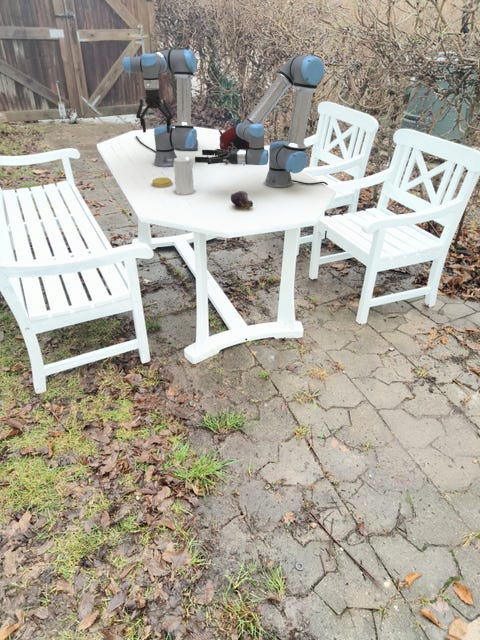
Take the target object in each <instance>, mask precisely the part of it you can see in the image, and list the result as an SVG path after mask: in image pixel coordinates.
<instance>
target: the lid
mask: <svg viewBox="0 0 480 640" xmlns="http://www.w3.org/2000/svg"><path fill="white" fill-rule="evenodd" d="M151 183H152V186H153V187H155V188H167V187H170V186H172V179H171V178H169V177H156V178H153V179H152V182H151Z"/></svg>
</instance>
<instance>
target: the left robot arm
mask: <svg viewBox="0 0 480 640" xmlns="http://www.w3.org/2000/svg"><path fill="white" fill-rule="evenodd" d="M122 68H123V70H124V72H125V73H127V74H142V77H143V87H144V96H145V99H144V98H141V99H140V100H139V106H138V109H137V113H136V115H135V117H136V118H137V119H139V123H140V126H142V133H146V132H147V127H146V120H145V118H144V117H145V116H146V114H147V113H148V111H150V109H152V110H153V109H155V110H159V111H160V112H161V114H162V115H163V116H164V117H165V118H166V119H165V120H166V121H165V123H166V124H163V125H159V126H156V127H155V128H154V129H153V136H154V145H155V149H152V148H151V147H149V146H148V145H146V144H144V143H143V142H142V141H141V140H140V139H139V137H138V136H137V135H135V138H136V139H137V141H138V142H139V143H140V144H141V145H142V146H144V147H146V148H147V149H149V150H151V151H152V152H154V153H155V155H154V165H155V166H157V167H163V168H164V167H165V168H167V167H168V168H169V167H174V165H173V163H174V159H175V158H177V153H176V151H175V149H176V148H185V149H187V148H193V147H194V146H195V143H196V139H197V140H198V133H197V129H196V128H195V126H194V124H193V123H192V79H193V77H194V74H195V73H197V69H198V62H197V58H196V55H195V52H194V51H193V50H191V49H164V50H159V51H155V52H153V53H143V54H141V55H138V56H137V55H135V56H124V57H123V59H122ZM164 72H167V73H173V76H174V78H175V79H176V123H174V127H173V125H172V120H173V119H174V118H175V115H174V113H173V111H172V110H171V108H170V106H169V103H168V100H167V99H166V98H164V99H162V98H161V92H160V80H159V74H163V73H164ZM145 104H146V107H145V108H144V109H143V107H144V105H145ZM142 110H143V111H142Z"/></svg>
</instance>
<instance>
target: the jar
mask: <svg viewBox="0 0 480 640" xmlns="http://www.w3.org/2000/svg"><path fill="white" fill-rule="evenodd" d="M176 157H177V156H176ZM173 165H174V166H173V174H174V176H173V177H174V185H175V193H176V194H177V195H182V196H183V195H185V196H187V195H191V194H193V193H194V192H195V188H194V187H195V185H194V173H193V162H192V159H191V157H189V156H178V157H177V158H175V159H174V163H173Z"/></svg>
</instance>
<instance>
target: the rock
mask: <svg viewBox="0 0 480 640" xmlns="http://www.w3.org/2000/svg"><path fill="white" fill-rule="evenodd" d="M230 200H231V203H232V204H233V206H234V207H235V208H237V209H250V208H252V207H254V205H253V204H254V203H253V201H252V200H250V199H249V195H248V192H247V191H243V190H239V191H237V192H234V193H231V195H230Z"/></svg>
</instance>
